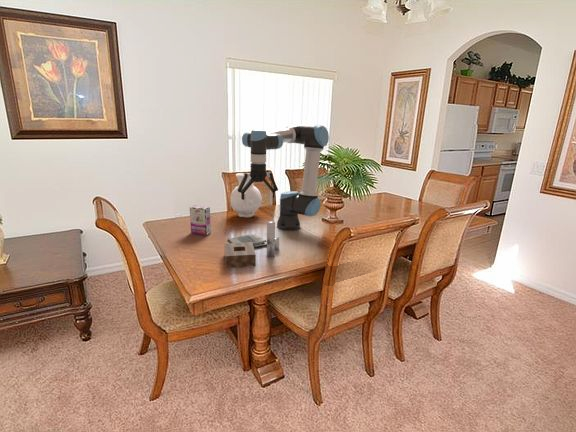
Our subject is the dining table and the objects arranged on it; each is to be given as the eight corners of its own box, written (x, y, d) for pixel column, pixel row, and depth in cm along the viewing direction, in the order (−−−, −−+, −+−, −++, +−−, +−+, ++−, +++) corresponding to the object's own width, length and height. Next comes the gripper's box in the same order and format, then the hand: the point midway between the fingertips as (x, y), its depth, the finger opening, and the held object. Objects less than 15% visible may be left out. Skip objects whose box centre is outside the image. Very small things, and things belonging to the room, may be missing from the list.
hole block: (252, 253, 173) (252, 242, 172) (255, 266, 158) (255, 254, 157) (224, 254, 170) (224, 243, 169) (225, 268, 156) (225, 256, 154)
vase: (265, 217, 235) (266, 175, 227) (238, 221, 224) (237, 177, 215) (253, 210, 250) (253, 171, 241) (226, 214, 238) (225, 173, 230)
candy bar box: (211, 233, 200) (210, 207, 195) (206, 236, 196) (205, 209, 191) (195, 230, 204) (194, 204, 199) (190, 233, 199) (189, 206, 194)
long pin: (273, 254, 173) (274, 221, 168) (275, 257, 169) (275, 223, 164) (266, 254, 172) (266, 221, 167) (267, 257, 168) (267, 223, 163)
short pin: (278, 247, 182) (278, 237, 180) (279, 250, 178) (279, 239, 177) (271, 247, 181) (271, 237, 180) (272, 250, 178) (272, 239, 176)
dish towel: (226, 241, 190) (226, 236, 189) (255, 236, 198) (255, 231, 198) (238, 252, 174) (238, 247, 174) (269, 247, 183) (269, 241, 182)
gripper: (280, 161, 169) (279, 202, 175) (231, 162, 161) (231, 204, 167) (285, 163, 162) (283, 205, 168) (234, 164, 154) (234, 208, 160)
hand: (258, 205), depth 167 cm, fingers open, 13 cm apart
